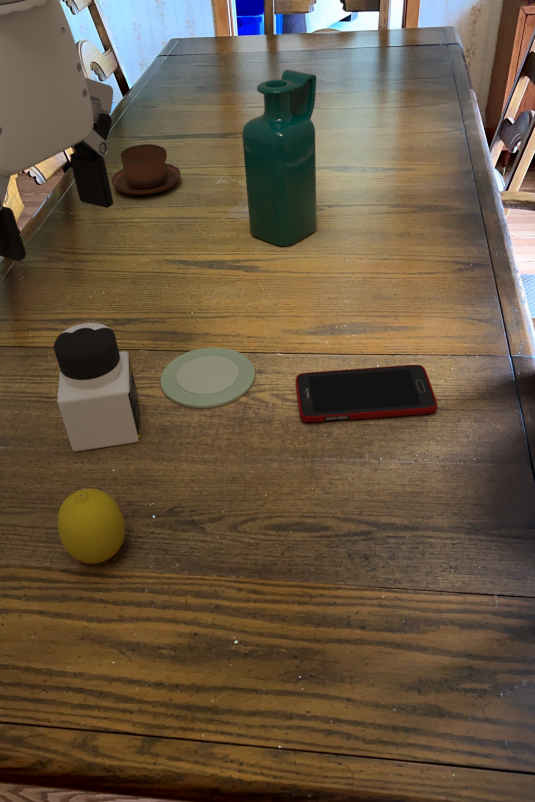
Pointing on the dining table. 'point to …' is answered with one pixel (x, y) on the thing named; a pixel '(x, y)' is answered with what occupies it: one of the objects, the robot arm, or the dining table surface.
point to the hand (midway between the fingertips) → (55, 228)
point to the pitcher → (282, 161)
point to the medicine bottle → (96, 388)
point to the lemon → (91, 526)
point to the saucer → (207, 377)
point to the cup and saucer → (145, 170)
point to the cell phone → (364, 393)
